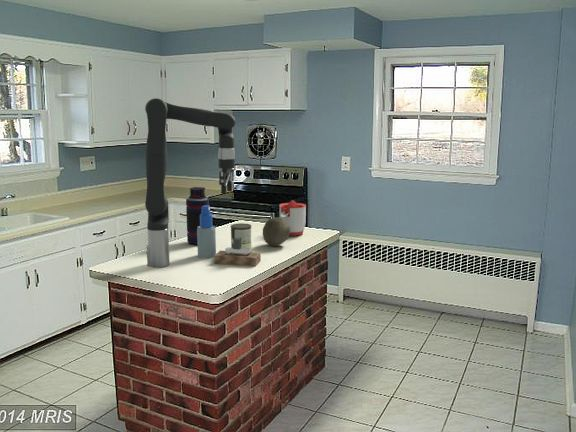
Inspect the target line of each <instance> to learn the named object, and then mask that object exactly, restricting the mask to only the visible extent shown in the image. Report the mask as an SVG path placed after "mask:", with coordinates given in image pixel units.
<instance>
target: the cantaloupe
mask: <svg viewBox="0 0 576 432" xmlns="http://www.w3.org/2000/svg"><path fill="white" fill-rule="evenodd" d="M289 234H290V227H289V224H288V223H287V222H286V221H285V220H284V219H282V218H280V217H278V216H276V217H271V218H269V219H267V221H266V222H265V223H264V226H263V228H262V236H263V240H264V242H265V243H266V244H268V245H269V246H271V247H278V246H281V245H282V244H284V243H285V242H286V240H288V238H289V236H290V235H289Z"/></svg>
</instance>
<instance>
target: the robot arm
mask: <svg viewBox="0 0 576 432" xmlns="http://www.w3.org/2000/svg"><path fill="white" fill-rule="evenodd" d="M144 109H145V114H146V117H147V118H146V119H147V129H148V130H147V131H148V132H147V138H146V145H145V172H146V173H145V174H146V175H145V176H146V193H145V204H144V205H145V209H146V211H147V216H148V218H147V223H146V225H147V229H146V230H147V243H148V245H146V260H147V261H146V262H147V263H146V265H147V267H151V268H165V267H166V268H167V267H168V266H170V264H171V262H170V243H169V242H170V239H169V238H170V237H169V220H170V219H169V218H170V217H169V201H168V198H167V196H166V195H165V186H164V185H165V181H166V174H167V167H168V145H167V144H168V143H167V137H166V135H167V134H166V127H167V120H175V121H180V122H185V123H190V124H193V125H198V126H205V127H213V128H217V129H218V130H217V132H218V151H217V153H218V154H217V155H218V156H217V157H218V163H217V164H218V169H221V171H219V178H218V179H219V182H218V184H219V186H221V188H220V191H221V195H226V194H227V192H232V190H233V182H234V180H235V179H234V178H235V177H234V173H235V172H234V169H235V168H236V155H235V154H236V153H235V137H234V131H233V128H234V127H235V126H236V118H235V116H233V115H232V114H230V113H224V112H223V113H222V112H218V111H217V112H215V111H212V110H210V109H209V110H208V109H203V108H198V107H197V108H196V107H189V106H188V107H187V106H186V107H185V106H179V105H177V104H176V105H175V104H172V103H169V102H166V101H164V100H163V99H162V98H151V99H150V100H148V101H147V102H146V104H145V108H144Z"/></svg>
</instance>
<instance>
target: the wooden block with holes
mask: <svg viewBox="0 0 576 432" xmlns="http://www.w3.org/2000/svg"><path fill="white" fill-rule="evenodd" d="M261 254H262V253H261V252H252V251H251V252H249V253H248V256H243V253H232V255H227V252H225V250H219V251H218V252H216V254H215V255H214V257H213V260H214V262H213V264H214V265H227V266H229V265H231V266H245V265H247V266H249V267H257V265H259V263H260V262H261V259H262V257H261ZM247 266H246V267H247Z"/></svg>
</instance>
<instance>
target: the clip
mask: <svg viewBox="0 0 576 432" xmlns="http://www.w3.org/2000/svg"><path fill="white" fill-rule="evenodd" d="M224 251H225V252H227V255H232V253H243V256H248V253H249V252H250V249H249V248H241V238H236V237H235V238H234V239H233V248H231V247H228V246H227V247H226V248H225V250H224Z"/></svg>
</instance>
